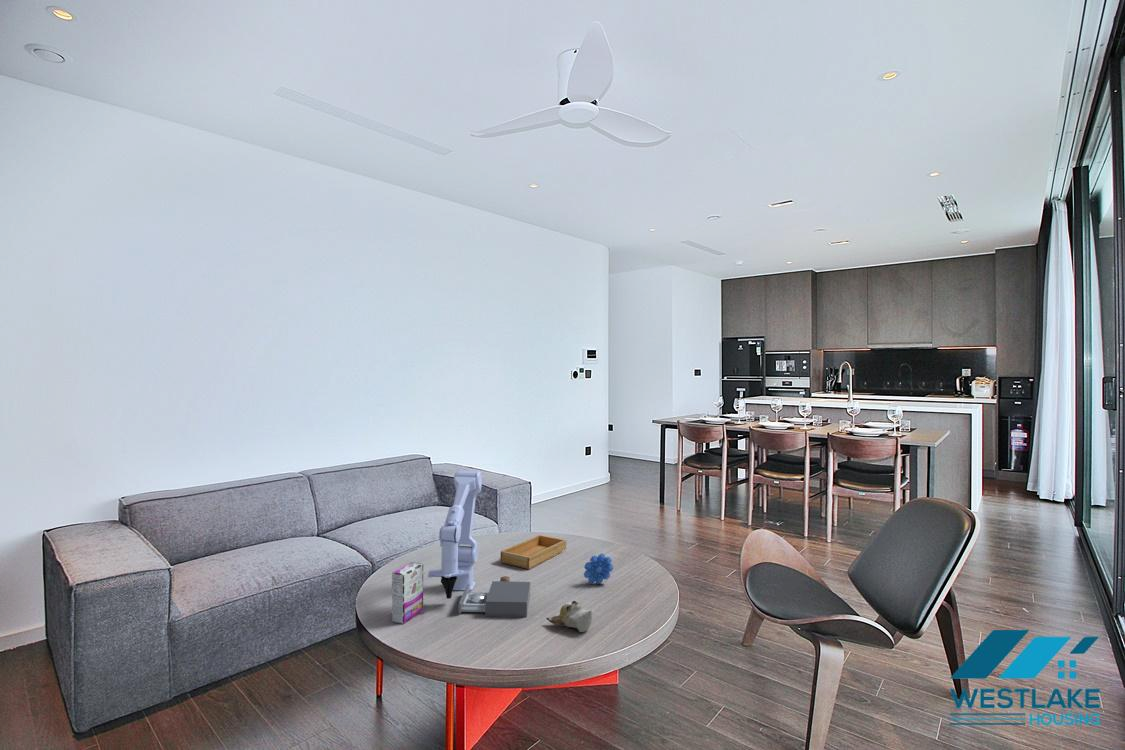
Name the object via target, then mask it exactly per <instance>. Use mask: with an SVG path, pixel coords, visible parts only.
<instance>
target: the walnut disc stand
mask: <svg viewBox="0 0 1125 750" xmlns="http://www.w3.org/2000/svg"><path fill="white" fill-rule="evenodd" d="M499 579H500V580H499V581H509V582H511V578H510V577H509V576H507V575H504V576H501V577H500V578H499Z"/></svg>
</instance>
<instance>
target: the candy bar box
mask: <svg viewBox="0 0 1125 750" xmlns="http://www.w3.org/2000/svg"><path fill="white" fill-rule="evenodd" d="M391 581H392V582H391V590H392V591H391V594H392V595H391V597H392V600H391V601H392V602H391V603H392V604H391V605H392V606H391V607H392V608H391V611H392V614H391V618H392V620H391V622H393V623H397V624H401V625H404V624H406V623H407V622H409V621H410V620H411V619H413V618H414V617H416V616H417V615H418V614H421V612H423V611H424V563H421V562H415V561H412V562H409V563H407V564H406V565H404V566H402V567H400V568H398V569H397V570H395V571H393V572H392V574H391Z"/></svg>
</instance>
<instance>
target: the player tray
mask: <svg viewBox="0 0 1125 750" xmlns="http://www.w3.org/2000/svg"><path fill="white" fill-rule="evenodd" d="M470 591H471V590H470V584H467V586H466V588H465V590H463V593H462V595H461V597H460V600H459V602H458V611H457V612H458V614H462V612H463V613H465V612H466V613H485V605H486V601H485V602H484V603H481V604H473V603H471V602H470V595H471V594H474V593H475V592H470ZM483 593H484V594H485V595H486V599H487V596H488V593H489V592H483Z"/></svg>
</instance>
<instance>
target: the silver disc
mask: <svg viewBox="0 0 1125 750" xmlns="http://www.w3.org/2000/svg"><path fill="white" fill-rule="evenodd" d="M473 593H474V594H471V595H470V602H471V603H473V604H481V603H484V602H485V601H486V595H485V594H484V593H485V592H473Z"/></svg>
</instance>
